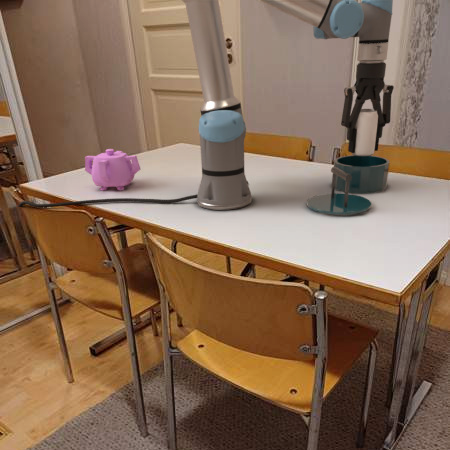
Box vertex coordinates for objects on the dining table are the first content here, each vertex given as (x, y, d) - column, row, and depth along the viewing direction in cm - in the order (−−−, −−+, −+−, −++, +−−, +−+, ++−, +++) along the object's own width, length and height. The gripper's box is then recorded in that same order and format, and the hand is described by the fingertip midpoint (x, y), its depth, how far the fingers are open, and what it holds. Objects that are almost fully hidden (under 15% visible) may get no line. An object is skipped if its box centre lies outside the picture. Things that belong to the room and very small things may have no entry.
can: (368, 157, 132) (373, 112, 126) (347, 155, 135) (351, 111, 129) (377, 153, 136) (382, 109, 130) (356, 151, 139) (360, 108, 134)
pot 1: (150, 179, 156) (145, 143, 151) (133, 194, 141) (128, 155, 136) (99, 179, 159) (93, 144, 153) (77, 194, 144) (70, 155, 138)
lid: (321, 219, 115) (323, 181, 111) (297, 200, 130) (299, 166, 125) (382, 212, 118) (387, 175, 114) (353, 195, 132) (356, 161, 128)
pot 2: (346, 195, 132) (348, 169, 128) (324, 182, 145) (326, 157, 142) (396, 190, 135) (400, 164, 131) (370, 177, 148) (373, 153, 144)
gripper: (343, 64, 119) (337, 156, 130) (412, 60, 122) (400, 150, 133) (331, 63, 125) (326, 151, 137) (397, 59, 129) (386, 145, 140)
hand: (362, 150), depth 135 cm, fingers closed on can, 6 cm apart
